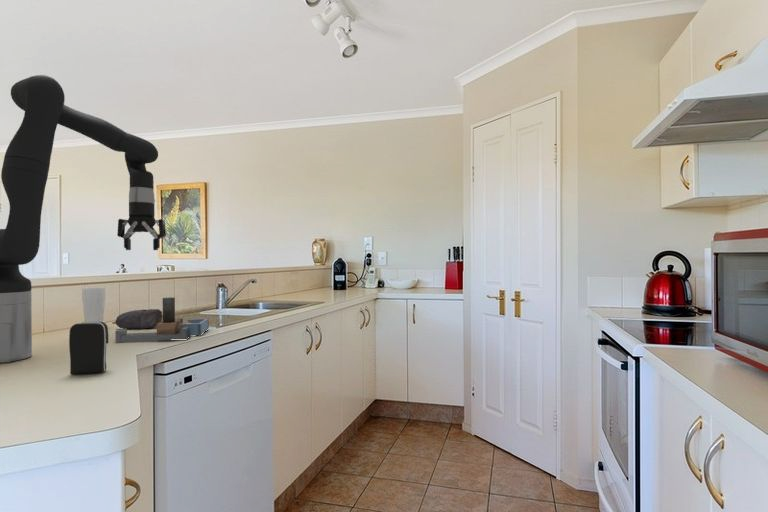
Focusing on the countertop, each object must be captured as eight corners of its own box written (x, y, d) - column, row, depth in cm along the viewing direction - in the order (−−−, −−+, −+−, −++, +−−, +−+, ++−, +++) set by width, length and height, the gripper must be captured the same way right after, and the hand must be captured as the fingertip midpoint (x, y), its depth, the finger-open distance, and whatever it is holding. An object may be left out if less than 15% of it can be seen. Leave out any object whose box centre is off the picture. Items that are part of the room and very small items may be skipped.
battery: (110, 369, 99) (110, 320, 99) (103, 373, 95) (103, 322, 95) (76, 370, 97) (76, 321, 97) (68, 375, 94) (68, 323, 94)
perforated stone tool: (112, 330, 149) (112, 311, 149) (119, 328, 154) (119, 309, 154) (157, 329, 151) (157, 310, 151) (163, 327, 156) (163, 308, 156)
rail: (185, 340, 131) (185, 329, 131) (115, 342, 128) (115, 331, 128) (189, 337, 136) (189, 326, 136) (121, 339, 133) (121, 328, 133)
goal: (200, 335, 139) (200, 323, 138) (178, 336, 137) (178, 324, 137) (208, 329, 149) (208, 318, 149) (188, 330, 148) (188, 319, 148)
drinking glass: (93, 331, 147) (93, 288, 147) (77, 330, 148) (77, 287, 148) (110, 328, 154) (109, 286, 154) (94, 327, 155) (94, 286, 155)
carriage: (174, 339, 130) (174, 298, 130) (156, 340, 129) (156, 299, 129) (188, 330, 145) (188, 294, 145) (173, 331, 145) (173, 294, 145)
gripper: (113, 200, 138) (113, 250, 138) (160, 201, 141) (160, 250, 141) (123, 203, 146) (124, 250, 146) (168, 203, 148) (168, 250, 148)
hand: (142, 250), depth 143 cm, fingers open, 8 cm apart
